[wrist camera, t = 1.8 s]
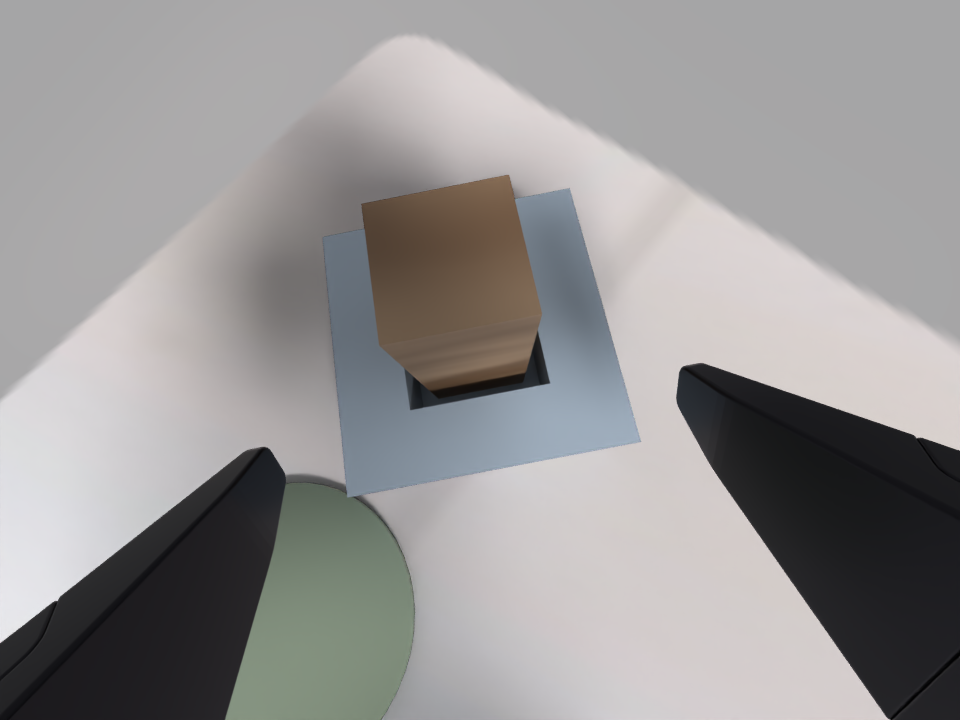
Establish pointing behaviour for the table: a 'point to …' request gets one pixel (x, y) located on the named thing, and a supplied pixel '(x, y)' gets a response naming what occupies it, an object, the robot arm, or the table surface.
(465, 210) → the walnut peg
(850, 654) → the robot arm
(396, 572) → the sage-green mat
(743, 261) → the table surface
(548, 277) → the slate-blue holder
